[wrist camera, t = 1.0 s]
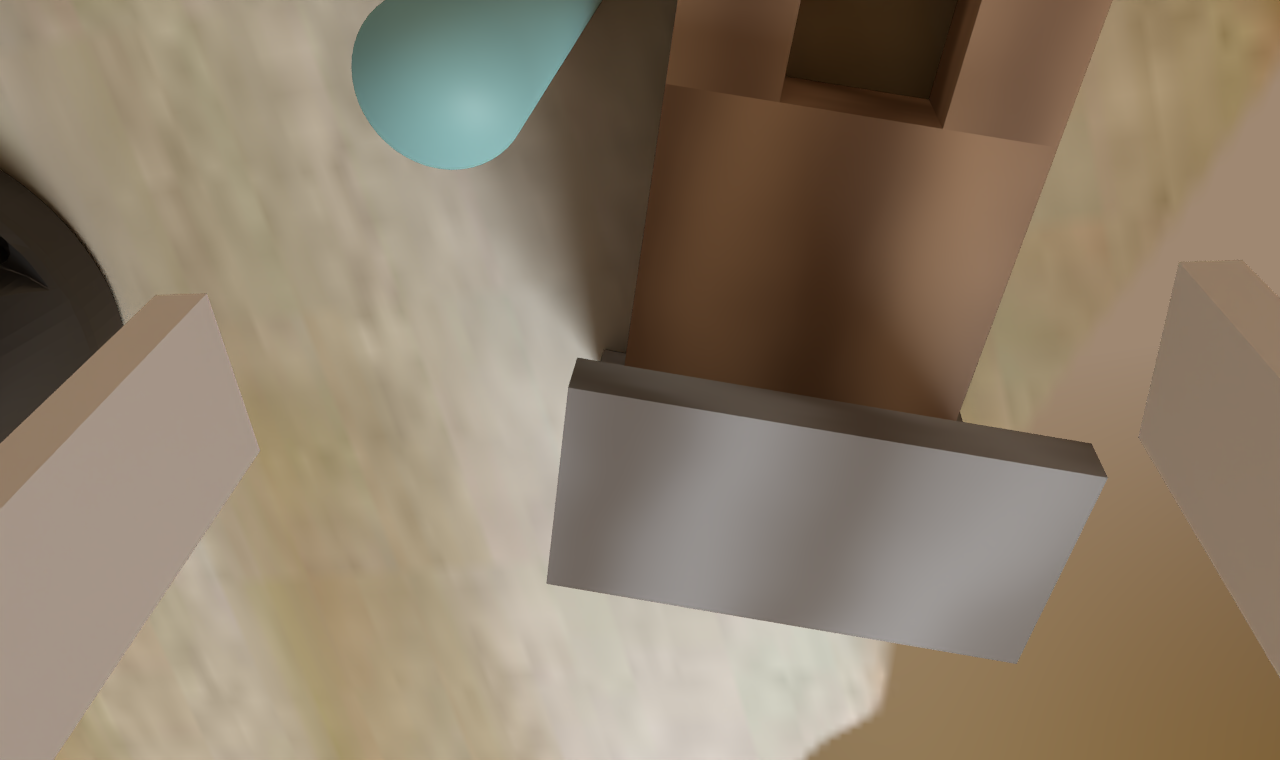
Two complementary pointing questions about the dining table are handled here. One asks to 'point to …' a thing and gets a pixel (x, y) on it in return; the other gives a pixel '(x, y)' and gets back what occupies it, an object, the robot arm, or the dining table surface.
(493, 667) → the dining table surface
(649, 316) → the socket station
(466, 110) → the peg
